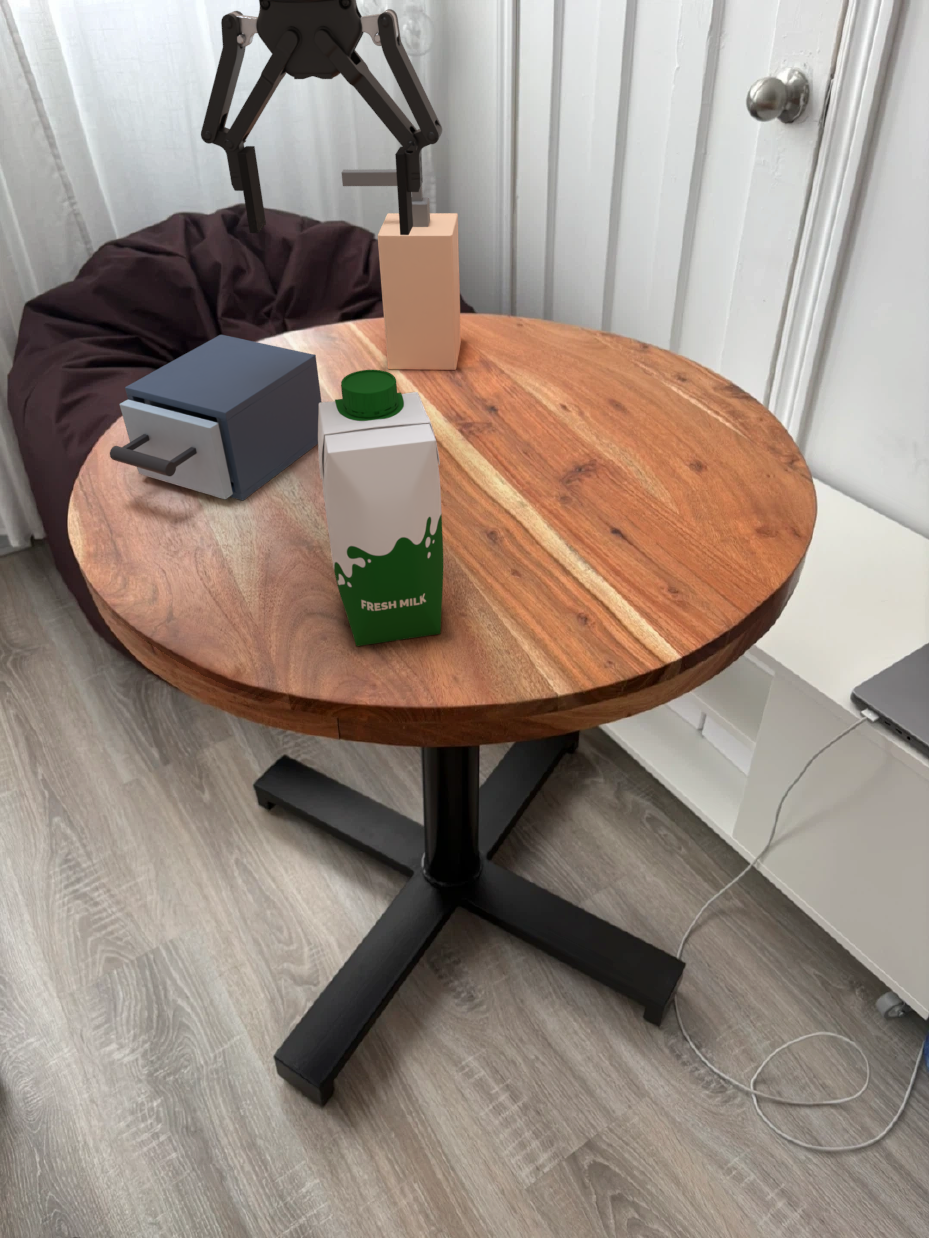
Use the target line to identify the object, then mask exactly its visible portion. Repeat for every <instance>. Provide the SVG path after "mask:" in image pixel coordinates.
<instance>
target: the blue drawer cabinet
mask: <svg viewBox="0 0 929 1238" xmlns="http://www.w3.org/2000/svg"><path fill="white" fill-rule="evenodd" d="M317 363H318V362H317V355H316V354H312V353H308V352H305V351H299V350H296V349H290V348H286V347H280V346H277V345H271V344H268V343H267V344H266V343H262V342H257V341H253V340H250V339H249V340H248V339H244V338H239V337H235V336H229V335H225V334H219V335H217V336H216V337H213V338H212V339H210V340H208V341H206V342H204V343H203V344H201V345H199V346H197V347H196V348H194V349H192V350H190V351H188V352H187V353H185V354H182V355H181V356H179V357H177V358H176V359H174V360H172V361H170V362H168V363H167V364H164V365H163V366H160V367H159V368H157V369H155V370H154V371H152V372H150V373H148V374H146V375H144V376H142V377H141V378H139V379H137V380H135V381H134V382H132V383H130V384H129V385H128V384H127V386H125V387H124V389H125V392H126V397H127V400H132V401H136V402H140V403H144V404H145V402H144V399H146V400H150V401H154V402H158V403H162V404H165V405H169V406H173V407H177V408H181V409H185V410H189V411H193V412H196V413H200V414H204V415H208V416H212V417H216V418H220V419H221V424H222V429H223V434H224V439H225V444H226V449H227V453H228V458H229V463H230V468H231V473H232V478H233V483H232V482H231V487H232V492H233V494H232V495H231V496H230V497H229V498H232V499H236V500H240V501H242V502H243V501H245V500H246V499H247V498H249V497H250V496H251V495H252V494H254V493H255V492H257V491H258V490H259V489H261V488H262V487H263V486H265V485H266V484H267V483H268V482H269V481H271V480H272V479H273V478H275V477H276V476H277V475H279V474H281V472H283V471H284V470H286V469H287V468H288V467H290V466H291V465H292V464H293V463H294V462H297V460H299V459H300V458H301V457H303V456H304V455H305V454H306V453H308V452H309V451H310V450H312V449H313V448H314V447H316V446H318V416H319V403H320V402H323V400H322V394H321V387H320V380H319V379H320V378H319V371H318V364H317Z"/></svg>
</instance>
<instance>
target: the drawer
mask: <svg viewBox="0 0 929 1238" xmlns="http://www.w3.org/2000/svg"><path fill="white" fill-rule="evenodd" d="M144 402H145V404H144V403H140V402H136V401H132V400H128V399H126V400H124V401H123V402H120V403H119V408H120V411H121V415H122V419H123V423H124V426H125V429H126V433H127V436H128V440H129V442H128V443H127V444H125V445H123V446H119V445H114V446H112V447H111V448H110V450H109V457H110V459H111V460H112V461H115V462H119V463H122V464H126V465H129V466H132V467H136V469H137V472H138V474H139V475H142V476H145V477H149V478H152V479H154V480H155V479H156V480H159V481H162V482H165V483H169V484H172V485H176V486H179V487H182V488H186V489H189V490H192V491H195V492H199V493H202V494H206V495H209V496H213V497H215V498H219V499H223V500H227V499H229V498H231V497H230V496H231V495H232V494H233V492H232V487H231V482H232V483H233V478H232V473H231V468H230V463H229V458H228V453H227V449H226V444H225V439H224V434H223V429H222V424H221V419H220V418H216V417H212V416H208V415H204V414H200V413H196V412H193V411H189V410H185V409H181V408H177V407H173V406H169V405H165V404H162V403H158V402H154V401H150V400H146V399H144Z"/></svg>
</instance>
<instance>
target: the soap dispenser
mask: <svg viewBox="0 0 929 1238" xmlns="http://www.w3.org/2000/svg"><path fill="white" fill-rule="evenodd" d="M341 183H342V187H397V174H396V168H395V169H392V168H389V169H379V168H378V169H375V168H373V169H371V168H369V169H368V168H367V169H342V171H341ZM411 195H412V215H413V227H412V229H411V231H410V233H409V235H400V223H399V212H397V213H395V212H393V213H392V212H389V213H387V214H386V216H385V219H384V220H383V223H382V225H381V227H380V229H379V231H378V234H377V244H378V245H377V247H378V259H379V260H378V261H379V272H380V287H381V300H382V310H383V312H382V313H383V324H384V335H385V349H386V363H387V369H388V370H418V371H419V370H420V371H423V370H425V371H426V370H427V371H428V370H429V371H430V370H431V371H456V370H457V366H458V360H459V355H460V349H461V345H462V335H461V334H462V331H461V330H462V329H461V292H460V291H461V290H460V289H461V287H460V253H459V252H460V251H459V250H460V249H459V214H458V212H450V213H449V212H445V213H444V212H441V213H440V212H437V213H436V212H433V213H432V212H431V210H430V209H431V208H430V207H431V206H430V197H428V196H424V195H423V185H422V186H421V188H420V190H419V192H411Z"/></svg>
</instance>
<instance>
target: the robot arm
mask: <svg viewBox="0 0 929 1238" xmlns="http://www.w3.org/2000/svg"><path fill="white" fill-rule="evenodd" d="M258 3H259V11H258V15H257V16H252V15H246V14H243V13H242V12H241V11H239V10H234V11H232V12H228V13H226V14H225V15H223V16H222V17H221V22H220V24H221V36H222V37H221V41H222V49H221V53H220V57H219V59H218V60H219V61H218V65H217V69H216V72H215V76H214V80H213V83H212V88H211V91H210V96H209V100H208V103H207V107H206V112H205V115H204V119H203V123H202V127H201V131H200V137H201V140H202V141H203V142H204V143H206V144H209V145H210V144H213V145H215V146H218V147H220V148H221V149H223V150H224V152H225V154H226V160H227V166H228V171H229V178H230V183H231V186H232V188H233V190H234V191H235V192H242V194H243V199H244V206H245V212H246V217H247V224H248V229H249V231H248V232H249V234H259V233H260V232H261V231H262V229H263V228H264V227H265V226H267V222H266V220H267V219H266V215H265V207H264V201H263V194H262V187H261V181H260V174H259V168H258V160H257V154H256V147H255V145H246V146H245V143H246V142H247V139H248V137H249V136H250V134H251V132H252V130H253V129H254V127H255V125H256V124H257V122H258V121H259V119H260V117H261V115H262V113H263V112H264V110H265V109H266V107H267V105H268V103H269V102H270V100H271V99H272V97H273V95H274V94H275V92H276V91H277V88H278V87H279V85H280V84H281V82H282V81H283V79H284V78H285V76H286V75H289V76H290V77H292V78H293V79H294V80H305V79H308V78H311V77H314V78H317V79H320V80H332V79H334V78H336V77H338V76H339V75H341V76H342V77H343V78H344V79H345V81H346V82H347V83H348V84H349V85H350V86H352V87H353V88H354V89H355V90H356V91H357V93H358V94H359V95H360V96H361V98H362V99H363V100H364V101H365V102H366V104H367V105H368V106H369V108H370V109H371V110H372V111H373V112H374V113H375V115H376V116H377V117H378V119H379V120H380V121H381V122H382V123H383V125H384V126H385V127H386V128H387V130H388V131H389V132H390V133H391V135H392V136H393V137H394V138H395V139H396V141H397V142H398V143H399V144H400V145H401V146H400V147H399V148H398V149H397V150H396V153H395V154H394V156H395V157H394V158H395V169H396V174H397V186H396V188H397V203H398V205H397V206H398V213H399V223H400V235H409V233H410V231H411V229H412V227H413V215H412V192H419V190H420V188H421V186H422V187H423V182H424V179H423V177H424V176H423V154H422V152H423V151H422V150H423V149H424V148H426V147H427V146H428V147H429V146H430V145H435V144H436V143H438V141H439V140H440V138H441V135H442V134H443V126H442V124H441V122H440V120H439V118H438V116H437V114H436V112H435V109H434V108H433V105H432V103H431V101H430V99H429V97H428V95H427V93H426V91H425V88H424V87H423V84H422V83H421V81H420V78H419V76H418V74H417V72H416V70H415V68H414V66H413V63H412V62H411V59H410V57H409V54H408V52H407V51H406V49H405V47H404V44H403V42H402V38H401V32H400V25H399V19H398V15H397V13H396V11H395V10H394V9H391V8H388V9H386V10H385V11H383V12H381V13H375V14H368V15H362V14H361V12H360V10H359V8H358V4H357V0H258ZM364 33H366V34H367V35H368V36H370V38H371V40H372V43H373V44H374V45H375V46H377V47H381V49H382V53H383V56H384V58H385V60H386V63H387V65H388V66H389V69H390V71H391V73H392V74H393V77H394V79H395V81H396V83H397V85H398V87H399V89H400V92H401V93H402V95H403V97H404V100H405V101H406V104H407V106H408V107H409V109H410V111H411V113H412V116H413V118H414V120H415V122H416V124H417V126H418V129H417V127H415V126H414V124H413V122H411V120H410V119H409V118H408V116H407V115H406V114H405V113H404V111H403V110H402V109H401V108H400V106H398V104H397V103H396V102H395V100H394V99H393V98H392V97H391V95H390V94H389V93H388V92H387V90H386V89H385V88H384V86H382V84H381V83H380V81H379V80H378V79H377V78H376V76H375V75H374V74H373V73H372V72H371V70H370V68H369V66H368V64H367V63H366V62H365V60H364V59H363V58H362V56H361V55H360V54H359V53H358V51H357V50H356V49H357V47H358V45H359V43H360V41H361V39H362V38H363V36H364ZM255 34H257V35H258V37H259V38H260V40H261V41H262V43H263V44H264V45H265V46H266V48H267V49H268V51H269V52H270V53H271V55H270V57H269V59H268V60H267V62H266V63H265V66H264V67H263V69H262V71H261V73H260V76H259V77H258V80H257V81H256V83H255V84H254V87H253V88H252V90H251V92H250V93H249V95H248V96H247V99H246V100H245V102H244V103H243V105H242V107H241V109H240V110H239V112H238V114H237V115H236V117H235V119H234V121H233V122H232V124H231V126H230V128H228V127H226V125H227V121H228V117H229V113H230V109H231V106H232V103H233V99H234V96H235V95H234V94H235V91H236V87H237V83H238V80H239V76H240V73H241V69H242V65H243V61H244V58H245V54H246V47H248V46H250V45H251V44H252V43H253V40H254V36H255Z"/></svg>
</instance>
